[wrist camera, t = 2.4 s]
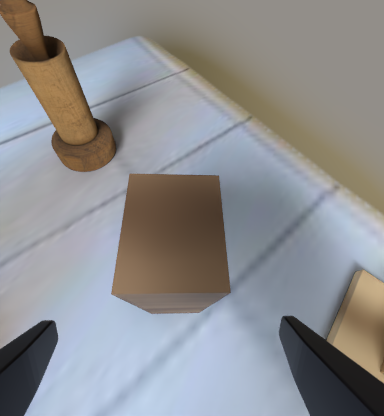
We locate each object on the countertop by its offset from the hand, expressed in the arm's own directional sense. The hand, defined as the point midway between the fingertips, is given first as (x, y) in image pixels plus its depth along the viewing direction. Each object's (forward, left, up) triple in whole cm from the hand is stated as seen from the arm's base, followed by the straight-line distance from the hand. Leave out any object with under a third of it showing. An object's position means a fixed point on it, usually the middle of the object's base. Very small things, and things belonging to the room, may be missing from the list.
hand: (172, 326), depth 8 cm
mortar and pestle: (+2, +22, -11) cm, 24 cm away
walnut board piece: (+2, +3, -10) cm, 11 cm away
